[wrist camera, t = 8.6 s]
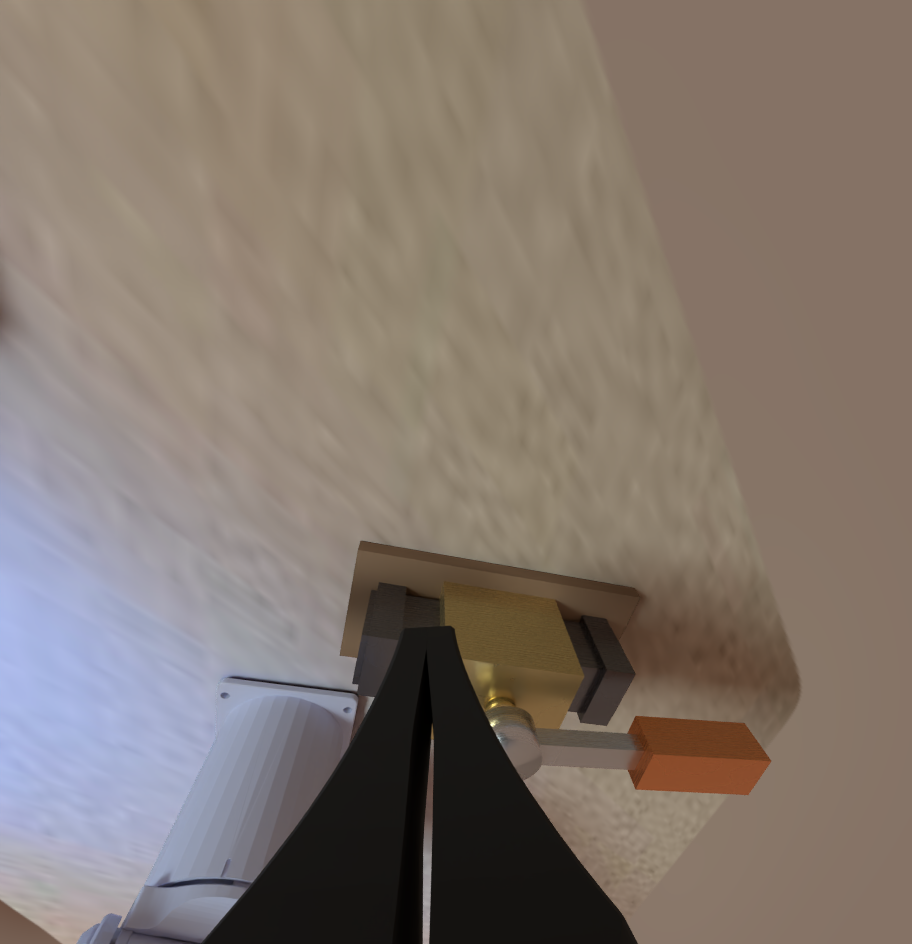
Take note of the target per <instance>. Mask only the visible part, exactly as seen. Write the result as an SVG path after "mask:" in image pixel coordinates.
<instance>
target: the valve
mask: <svg viewBox="0 0 912 944" xmlns="http://www.w3.org/2000/svg"><path fill="white" fill-rule="evenodd" d="M435 626H452V627H453V628H454V629H455V634H456V639H457V643H458V647H459V651H460V654H461V657H462V660H463V663H464V666H465V669H466V671H467V674H468V676H469V679H470V681H471V683H472V686H473V688H474V690H475V693H476V695H477V697H478V700H479V702H480V704H481V706H482V708H483V710H484V712H485V711H487V710H489V709H492V708H496V707H501V706H513V707H518V708H521V709H523V710H525V711H527V712H528V713H529V714H530V715H531V716H532V717H533V719H534V723H535V727H536V728H546V729H559V728H560V726H561V724H562V721H563V719H564V717H565V715H566V713H567V711H570V712H577V714H578V717H579V720H580V723H588V724H596V725H604V726H607V724H608V723H609V721H610V719H611V717H612V716H613V714H614V713H615V711H616V709H617V707H618V705H619V703H620V702H621V700H622V698H623V696H624V694H625V693H626V691H627V689H628V687H629V685H630V683H631V682H632V680H633V678H634V676H635V672H634V670H633V668H632V666H631V664H630V663H629V661H628V659H627V657H626V655H625V653H624V651H623V649H622V647H621V645H620V643H619V641H618V639H617V638H616V636H615V634H614V632H613V630H612V628H611V627H610V625H609V623H608V621H607V619H605V618H599V617H593V616H587V615H582V616H581V619H580V621H579V622H572V621H566V620H563V619H562V616H561V614H560V611H559V609H558V606H557V603H556V601H555V599H549V598H543V597H537V596H531V595H525V594H519V593H513V592H506V591H500V590H494V589H488V588H482V587H476V586H470V585H464V584H458V583H452V582H446V581H444V583H443V586H442V590H441V594H440V597H439V600H433V599H427V598H420V597H414V596H408V595H406V586H400V585H394V584H388V583H381V582H379V585H378V590H377V591H376V590H371V594H370V598H369V603H368V608H367V612H366V617H365V622H364V627H363V631H362V636H361V641H360V646H359V651H358V657H357V662H356V667H355V672H354V677H353V682H352V684H358V691H357V695H362V696H370V697H375V696H376V694H377V692H378V690H379V687H380V685H381V683H382V681H383V679H384V677H385V674H386V672H387V670H388V667H389V665H390V662H391V660H392V657H393V655H394V652H395V649H396V646H397V643H398V640H399V637H400V633H401V631H402V630H403V629H405V628H418V627H435ZM431 739H433V740H434V736H433V725H432V733H431Z"/></svg>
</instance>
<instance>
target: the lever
mask: <svg viewBox="0 0 912 944" xmlns="http://www.w3.org/2000/svg"><path fill="white" fill-rule="evenodd" d="M485 714H486V716H487V718H488V720H489V722H490V724H491V726H492V728H493V730H494V732H495V734H496V736H497V738H498V739H499V741H500V743H501V745H502V747H503V748H504V750H505V752H506V754H507V755H508V757H509V759H510V760H511V762H512V764H513V766H514V767H515V769H516V770H517V772H518V774H519V775H520V777H521V778H522V780H525V779H527V778H529V777H531V776H532V775H534V774H535V773H536V772H537V771H538V770H539V768H540V767H541V765H550V766H568V767H587V768H605V769H624V770H628V772H629V774H630V777H631V779H632V782H633V784H634V787H635V789H637V790H657V791H678V792H698V793H718V794H740V795H748V794H749V793H750V792H751V790H752V789H753V787H754V786H755V784H756V783H757V781H758V780H759V779H760V777H761V776H762V774H763V773H764V771H765V770H766V768H767V767H768V765H769V764H770V762H771V760H770V759H769V757H768V756H767V754H766V753H765V751H764V750H763V749H762V747H761V746H760V744H759V743H758V742H757V740H756V739H755V737H754V736H753V735H752V733H751V732H750V730H749V729H748V728H747V726H746V725H745V723H733V722H718V721H703V720H688V719H674V718H659V717H644V716H635V718H634V721H633V723H632V725H631V727H630V729H629V731H628V733H627V734H626V733H610V732H594V731H578V730H562V729H546V728H536V727H535V723H534V719H533V717H532V716H531V715H530V714H529V713H528V712H527V711H525V710H523V709H521V708H518V707H513V706H501V707H496V708H492V709H489V710H487V711H485Z"/></svg>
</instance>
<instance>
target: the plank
mask: <svg viewBox="0 0 912 944" xmlns="http://www.w3.org/2000/svg"><path fill="white" fill-rule="evenodd" d="M444 581H446V582H452V583H458V584H464V585H470V586H476V587H482V588H488V589H494V590H500V591H506V592H513V593H519V594H525V595H531V596H537V597H543V598H549V599H555V601H556V603H557V606H558V609H559V611H560V614H561V616H562V619H563V620H566V621H572V622H579V621H580V619H581V616H582V615H587V616H593V617H599V618H605V619H607V621H608V623H609V625H610V627H611V628H612V630H613V632H614V634H615V636H616V638H617V639H618V641H619V639H620V637H621V635H622V633H623V631H624V629H625V627H626V625H627V624H628V622H629V620H630V618H631V616H632V614H633V612H634V610H635V608H636V606H637V604H638V602H639V600H640V596H639V595H638V593H637V592H636V590H635V589H634V588H631V587H625V586H619V585H613V584H608V583H602V582H596V581H590V580H584V579H579V578H573V577H567V576H561V575H555V574H550V573H544V572H538V571H532V570H526V569H521V568H515V567H509V566H503V565H498V564H492V563H486V562H480V561H474V560H469V559H463V558H457V557H451V556H445V555H440V554H434V553H428V552H422V551H417V550H411V549H405V548H399V547H393V546H388V545H382V544H376V543H370V542H364V541H360V545H359V548H358V553H357V559H356V564H355V570H354V576H353V582H352V587H351V593H350V599H349V605H348V611H347V616H346V622H345V628H344V634H343V639H342V645H341V651H340V656H348V657H355V658H357V657H358V651H359V646H360V641H361V636H362V631H363V627H364V622H365V617H366V612H367V608H368V603H369V598H370V594H371V590H376V591H377V590H378V585H379V582H381V583H388V584H394V585H400V586H406V595H408V596H414V597H420V598H427V599H433V600H439V597H440V594H441V590H442V586H443V583H444Z"/></svg>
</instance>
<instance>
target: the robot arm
mask: <svg viewBox="0 0 912 944" xmlns="http://www.w3.org/2000/svg"><path fill="white" fill-rule="evenodd" d="M357 705H358V697H357V696H356V695H355V694H352V693H345V692H337V691H329V690H321V689H313V688H305V687H297V686H289V685H281V684H273V683H265V682H257V681H249V680H241V679H233V678H224V679H221V680H220V681H219V683H218V685H217V690H216V734H215V741H214V743H213V745H212V747H211V749H210V751H209V753H208V755H207V757H206V759H205V762H204V764H203V766H202V768H201V770H200V772H199V774H198V776H197V778H196V780H195V782H194V784H193V786H192V788H191V790H190V792H189V794H188V796H187V798H186V800H185V802H184V805H183V807H182V809H181V811H180V813H179V815H178V817H177V819H176V821H175V823H174V825H173V827H172V829H171V831H170V833H169V835H168V837H167V839H166V841H165V843H164V845H163V847H162V850H161V852H160V854H159V856H158V858H157V860H156V862H155V864H154V866H153V868H152V870H151V872H150V874H149V876H148V878H147V880H146V882H145V884H144V886H143V887H142V889H141V890H140V892H139V894H138V896H137V898H136V900H135V901H134V903H133V905H132V907H131V909H130V911H129V912H128V914H127V916H126V918H125V920H124V921H123V923H122V925H121V927H120V928H117V927H118V925H119V922H120V920H121V918H122V916H119V915H115V914H108V915H106V916H105V917H104V918H103V920H102V921H101V923H100V924H99V923H98V924H96V925H94V926H93V927H91V928H90V929H88V930H87V931H85V932H84V933H83V934H82V935H81V937H80V938H79V940H78V942H77V943H76V944H423V839H424V820H425V808H426V796H427V783H428V771H429V759H430V746H431V733H432V725H433V736H434V780H433V831H432V872H431V906H430V939H429V944H638V943H637V941H636V939H635V937H634V935H633V934H632V931H631V930H630V928H629V926H628V924H627V922H626V920H625V918H624V916H623V915H622V913H621V912H620V911H619V910H618V908H617V907H616V906H615V905H614V904H613V902H612V901H611V900H610V899H609V897H608V896H607V895H606V894H605V893H604V891H603V890H602V889H601V888H600V887H599V885H598V884H597V883H596V881H595V880H594V879H593V878H592V876H591V875H590V874H589V873H588V871H587V870H586V869H585V868H584V866H583V865H582V864H581V862H580V861H579V860H578V859H577V857H576V856H575V855H574V853H573V852H572V851H571V849H570V848H569V847H568V845H567V844H566V843H565V841H564V840H563V839H562V837H561V836H560V835H559V833H558V832H557V830H556V829H555V827H554V826H553V824H552V823H551V822H550V820H549V819H548V817H547V816H546V814H545V813H544V811H543V810H542V809H541V807H540V806H539V804H538V803H537V801H536V800H535V798H534V797H533V796H532V794H531V793H530V791H529V790H528V788H527V786H526V785H525V783H524V782H523V780H522V778H521V777H520V775H519V774H518V772H517V770H516V769H515V767H514V766H513V764H512V762H511V760H510V759H509V757H508V755H507V754H506V752H505V750H504V748H503V747H502V745H501V743H500V741H499V739H498V738H497V736H496V734H495V732H494V730H493V728H492V726H491V724H490V722H489V720H488V718H487V716H486V714H485V712H484V710H483V708H482V706H481V704H480V702H479V700H478V697H477V695H476V693H475V690H474V688H473V686H472V683H471V681H470V679H469V676H468V674H467V671H466V669H465V666H464V663H463V660H462V657H461V654H460V651H459V647H458V643H457V639H456V634H455V629H454V628H453V627H452V626H435V627H418V628H405V629H403V630H402V631H401V633H400V637H399V640H398V643H397V646H396V649H395V652H394V655H393V657H392V660H391V662H390V665H389V667H388V670H387V672H386V674H385V677H384V679H383V681H382V683H381V685H380V687H379V690H378V692H377V694H376V696H375V698H374V700H373V702H372V704H371V706H370V708H369V710H368V712H367V714H366V716H365V718H364V720H363V721H362V723H361V725H360V727H359V729H358V731H357V733H356V735H355V736H354V738H353V740H352V742H351V743H350V739H351V734H352V729H353V724H354V719H355V715H356V710H357ZM349 743H350V745H349Z"/></svg>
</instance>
